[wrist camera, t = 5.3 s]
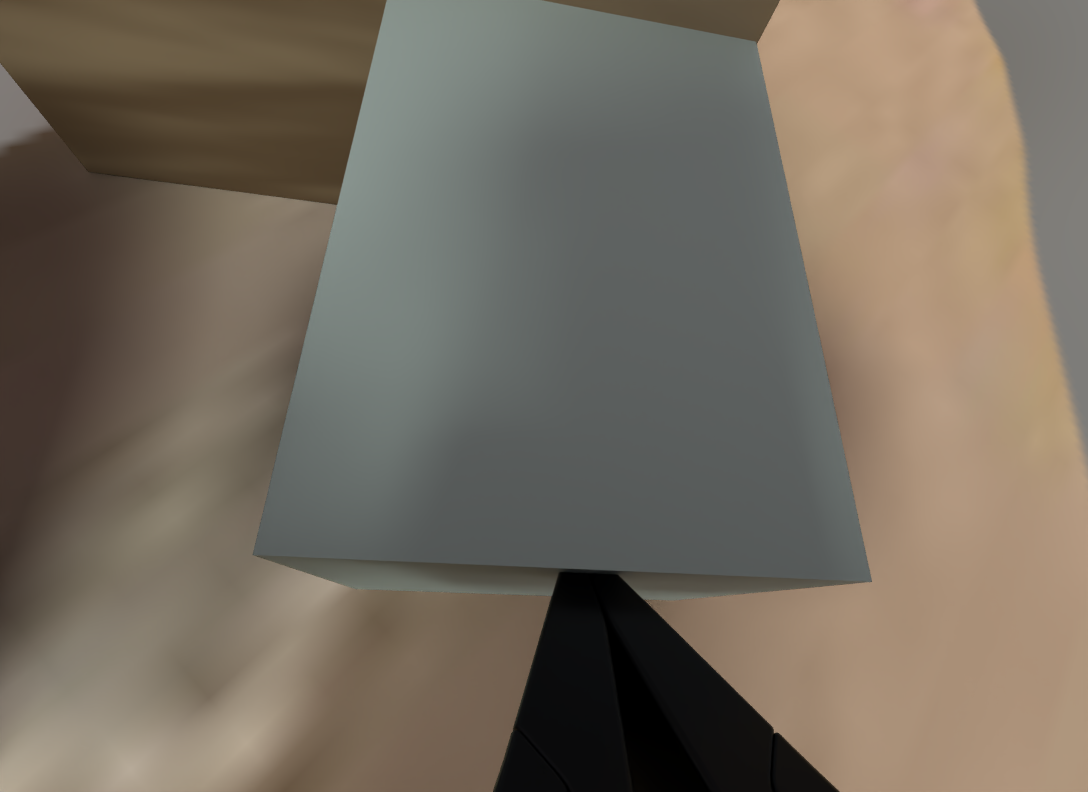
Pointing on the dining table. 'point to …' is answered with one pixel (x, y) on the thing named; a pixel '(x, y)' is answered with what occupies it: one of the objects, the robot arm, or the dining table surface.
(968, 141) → the dining table surface
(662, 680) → the robot arm
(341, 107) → the walnut board
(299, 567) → the grey block
